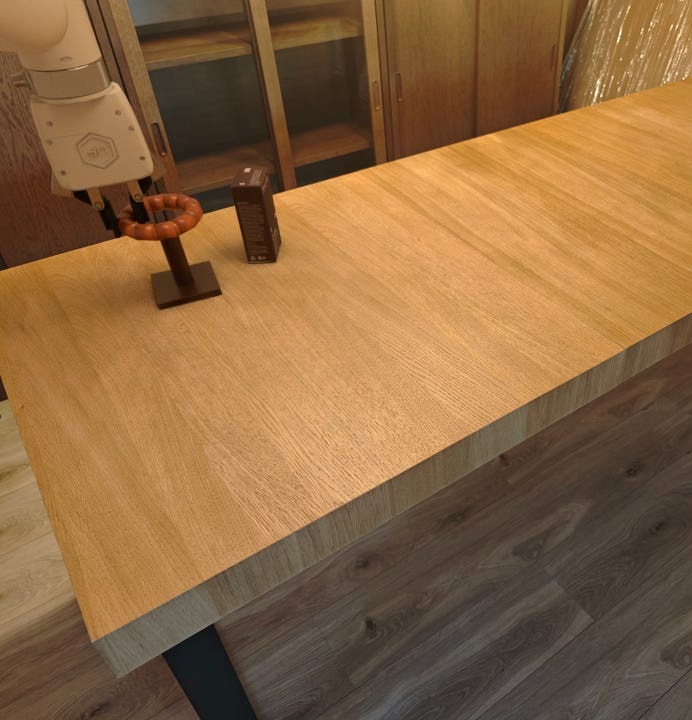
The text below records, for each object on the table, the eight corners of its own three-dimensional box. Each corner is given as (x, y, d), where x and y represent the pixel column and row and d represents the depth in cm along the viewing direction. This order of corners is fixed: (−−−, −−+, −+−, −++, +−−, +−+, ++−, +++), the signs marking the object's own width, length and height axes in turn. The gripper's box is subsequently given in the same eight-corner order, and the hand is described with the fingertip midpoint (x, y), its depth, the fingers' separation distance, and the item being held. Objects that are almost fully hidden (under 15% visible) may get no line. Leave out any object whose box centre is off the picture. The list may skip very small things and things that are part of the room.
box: (279, 262, 94) (261, 185, 86) (247, 263, 94) (226, 186, 86) (284, 241, 98) (268, 166, 90) (254, 242, 98) (235, 167, 90)
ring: (124, 251, 77) (118, 236, 76) (117, 215, 84) (111, 201, 83) (210, 231, 81) (206, 217, 80) (196, 199, 88) (192, 185, 86)
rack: (160, 310, 85) (136, 251, 79) (152, 280, 90) (129, 223, 84) (222, 294, 88) (203, 236, 82) (211, 266, 93) (193, 209, 87)
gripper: (-18, 101, 64) (61, 260, 76) (154, 77, 69) (202, 228, 81) (-15, 79, 69) (59, 232, 81) (145, 58, 74) (192, 204, 86)
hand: (130, 229), depth 81 cm, fingers closed on ring, 2 cm apart
